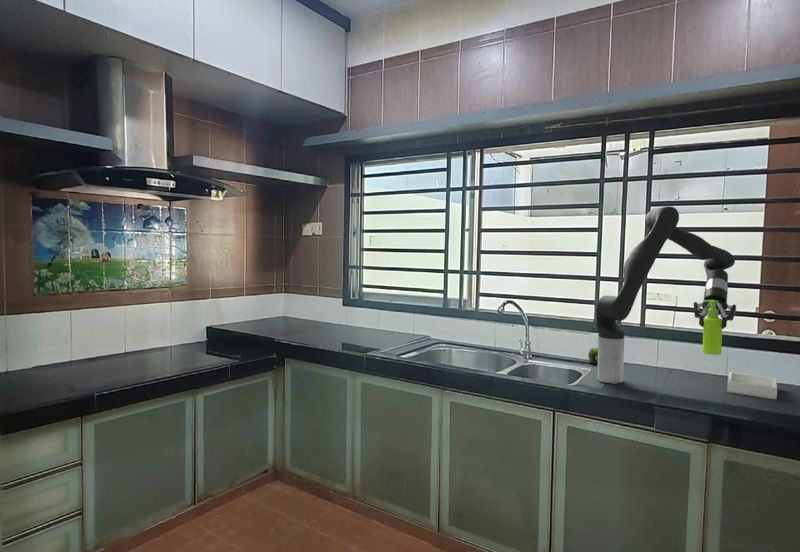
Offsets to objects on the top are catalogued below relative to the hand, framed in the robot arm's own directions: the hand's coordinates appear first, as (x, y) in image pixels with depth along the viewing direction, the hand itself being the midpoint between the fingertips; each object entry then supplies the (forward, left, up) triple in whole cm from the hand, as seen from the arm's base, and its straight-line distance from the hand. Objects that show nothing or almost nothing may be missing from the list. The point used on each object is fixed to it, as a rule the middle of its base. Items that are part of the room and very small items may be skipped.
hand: (712, 326), depth 176 cm
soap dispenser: (+2, 0, -10) cm, 11 cm away
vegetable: (+17, +45, -23) cm, 54 cm away
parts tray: (+4, -13, -23) cm, 26 cm away
